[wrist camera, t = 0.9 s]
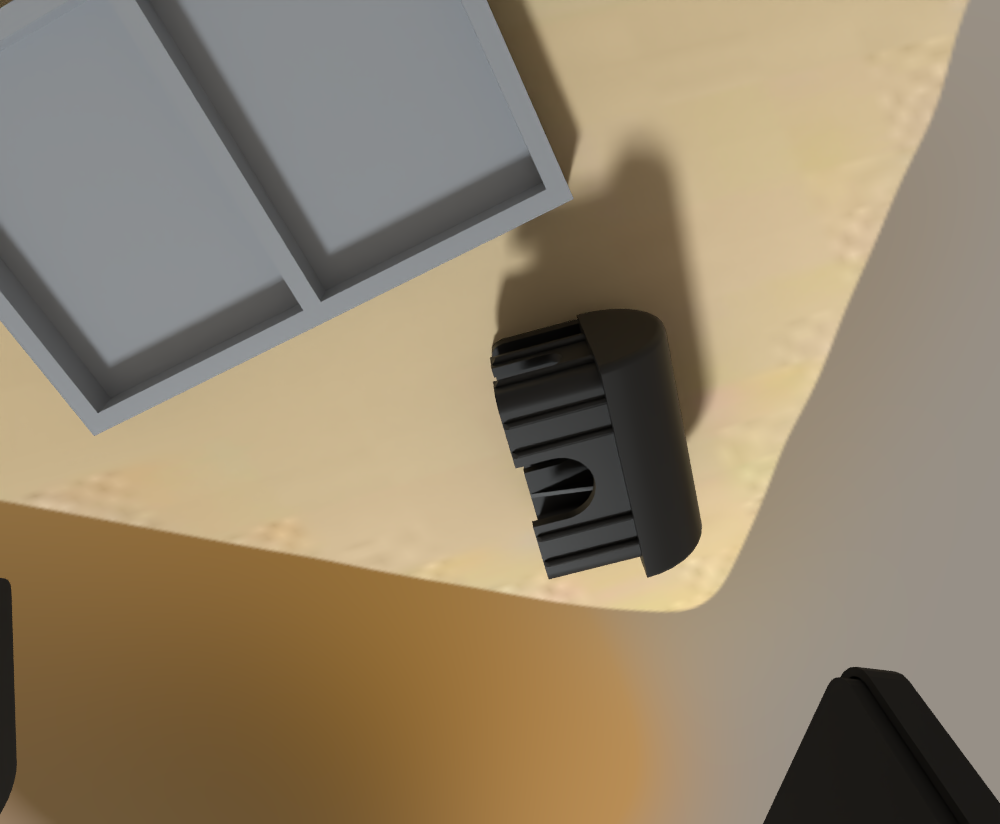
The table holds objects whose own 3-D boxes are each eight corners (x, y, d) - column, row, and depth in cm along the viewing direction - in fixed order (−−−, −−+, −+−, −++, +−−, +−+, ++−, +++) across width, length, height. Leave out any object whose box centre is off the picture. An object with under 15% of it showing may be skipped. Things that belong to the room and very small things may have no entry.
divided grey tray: (392, -209, 28) (388, -224, 26) (566, 188, 34) (573, 198, 32) (-135, 103, 31) (-171, 110, 29) (111, 415, 37) (94, 435, 35)
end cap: (679, 479, 40) (720, 562, 34) (538, 515, 41) (554, 603, 35) (642, 289, 36) (682, 346, 30) (485, 332, 36) (492, 396, 30)
